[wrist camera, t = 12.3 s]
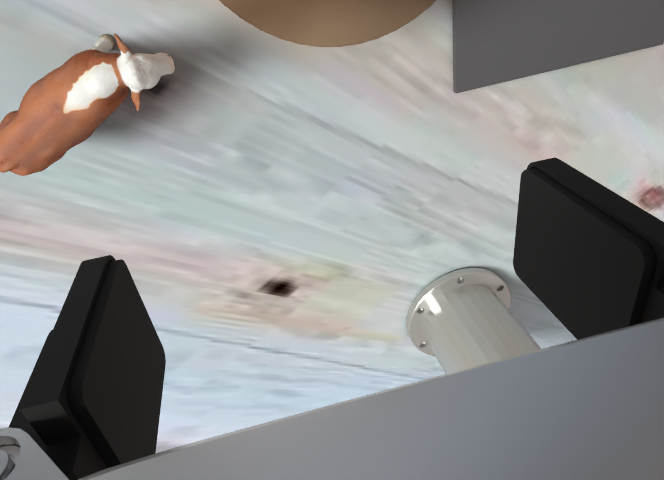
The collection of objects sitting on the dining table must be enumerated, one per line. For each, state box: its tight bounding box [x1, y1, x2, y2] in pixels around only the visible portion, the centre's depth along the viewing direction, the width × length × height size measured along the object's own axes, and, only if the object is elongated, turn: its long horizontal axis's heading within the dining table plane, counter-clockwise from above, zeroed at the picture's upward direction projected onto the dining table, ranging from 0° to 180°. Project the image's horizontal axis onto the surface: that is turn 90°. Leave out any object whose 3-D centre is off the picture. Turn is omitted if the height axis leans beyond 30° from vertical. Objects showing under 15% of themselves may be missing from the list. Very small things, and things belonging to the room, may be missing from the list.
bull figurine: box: [0, 34, 175, 176], centre depth 32 cm, size 4×13×8 cm, turn 120°
